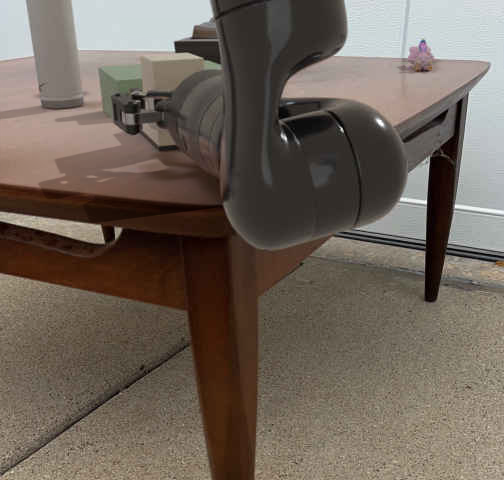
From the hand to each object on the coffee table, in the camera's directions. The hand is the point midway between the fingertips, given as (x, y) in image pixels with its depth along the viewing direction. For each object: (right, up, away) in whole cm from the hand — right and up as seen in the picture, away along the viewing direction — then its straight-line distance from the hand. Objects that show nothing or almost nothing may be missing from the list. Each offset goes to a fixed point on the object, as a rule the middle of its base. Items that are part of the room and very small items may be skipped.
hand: (177, 96), depth 67 cm
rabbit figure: (+41, +26, +69) cm, 84 cm away
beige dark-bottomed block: (-1, -4, +7) cm, 8 cm away
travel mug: (-21, +9, +36) cm, 43 cm away
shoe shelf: (-4, +5, +27) cm, 28 cm away
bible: (+5, +28, +75) cm, 80 cm away
